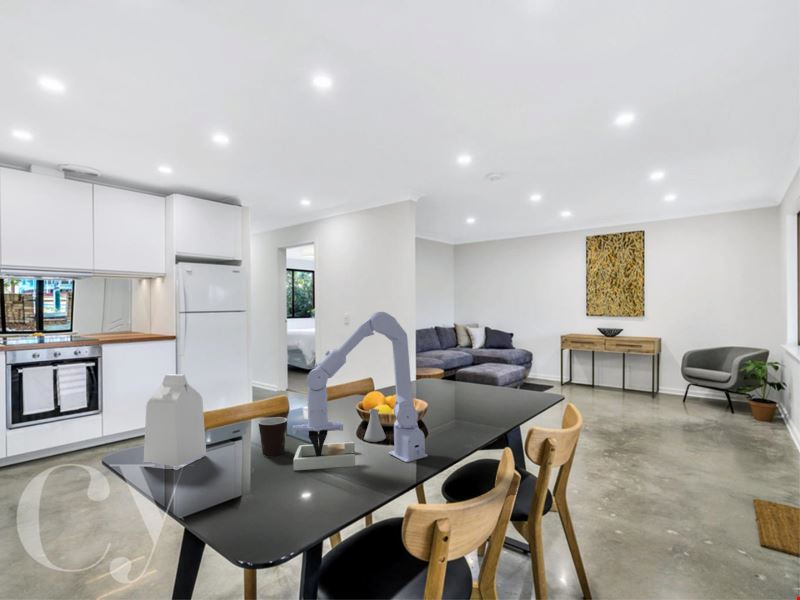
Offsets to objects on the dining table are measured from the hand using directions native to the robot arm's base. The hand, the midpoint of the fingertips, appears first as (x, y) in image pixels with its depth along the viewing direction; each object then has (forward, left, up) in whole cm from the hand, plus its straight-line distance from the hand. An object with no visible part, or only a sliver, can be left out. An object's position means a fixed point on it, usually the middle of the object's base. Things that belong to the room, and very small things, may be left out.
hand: (318, 456), depth 119 cm
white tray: (-1, -2, -1) cm, 3 cm away
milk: (+26, +35, -2) cm, 44 cm away
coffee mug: (+16, +8, -2) cm, 18 cm away
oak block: (-2, -4, -2) cm, 5 cm away
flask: (+7, -23, -2) cm, 24 cm away
